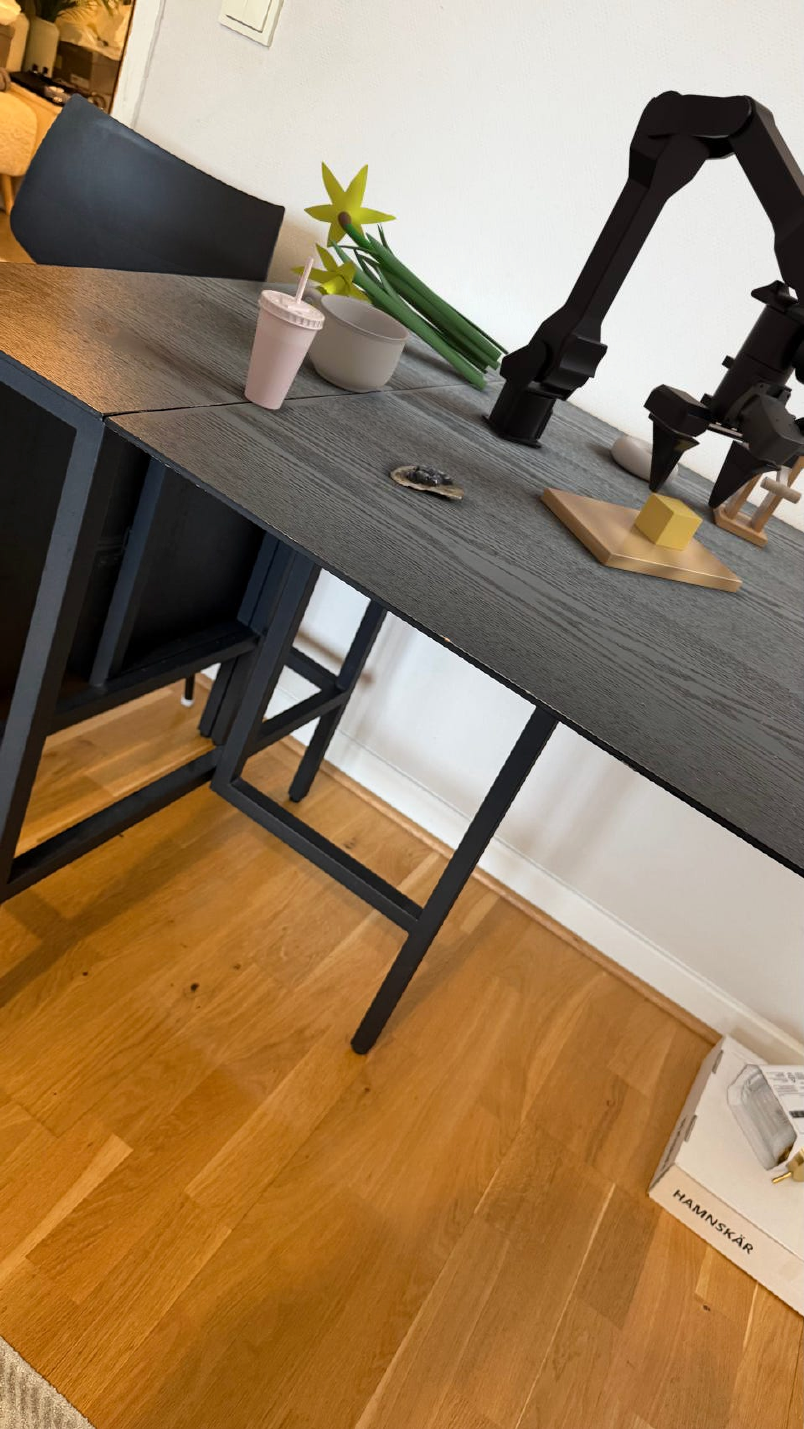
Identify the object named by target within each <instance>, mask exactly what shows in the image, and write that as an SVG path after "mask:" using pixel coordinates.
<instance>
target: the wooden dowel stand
mask: <svg viewBox="0 0 804 1429" xmlns="http://www.w3.org/2000/svg"><path fill="white" fill-rule="evenodd" d="M803 470H804V456H803V457H801V456H800V457H799V458H798V460H797V461H796V463H795V464H794V466H793V467H792V469H791V468H789V469H788V481H787V487H789V488H791V487H792V486H793V484H794V483H795V481H796V479H797V478H798V477H799V475H800V474H801V472H802V471H803ZM763 475H764V473H763V474H759V475H757V476H755V477H754V478H753V479H751V480H750V481H749V482H747V483H746V484H745V485H743V486H742V487H741V488H740V489H739V490H738V491H736V492H735V493H734V494H733V495H732V496H731V497H729V499H728V501H727V503H726V504H724V503H722V504H721V505H720V506H719V507H718V508H716V509H712V512H713V516H714V521H715V525H716V526H717V527H719V528H721V529H723V530H725V531H727V532H729V533H731V534H733V535H735V536H738V537H739V538H741V539H744V540H745V541H748V542H749V543H751V544H753V545H755V546H758V547H760V548H762V549H764V547H765V546H766V545H767V543H768V538H767V535H766V532H765V530H764V527H765V526H766V524H767V523H768V522H769V520H770V519H771V517H772V515H773V514H774V513H775V511H776V510H777V508H778V506H779V505H780V503H781V502H782V501H783V499H784V498H782V497H780V496H778V495H776V494H774V493H772V492H770V491H767V494H766V495H765V497H764V498H763V500H762V501H761V503H760V504H759V506H758V507H757V509H756V510H755V512H754V514H753V515H752V516H751V517H750V516H749V515H747V514H745V513H742V512H740V510H741V509H742V507H743V506H744V504H745V503H746V501H747V500H748V498H749V496H750V495H751V493H752V492H753V490H754V488H756V486H757V484H758V483H759V481H760V479H761V478H762V477H763Z"/></svg>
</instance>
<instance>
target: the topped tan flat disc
mask: <svg viewBox="0 0 804 1429" xmlns="http://www.w3.org/2000/svg"><path fill="white" fill-rule="evenodd" d="M390 477H391V478H392V479H393V480H394V481H395V482H396V483H398V484H400V485H402V486H404V487H408V486H410V487H411V488H413V489H415V490H416V489H417V490H419V491H425V490H427V491H430V492H435V493H437V494H440V495H444V496H446V497H447V498H448V499H449V498H450V499H451V500H455V501H461V500H462V499H463V498H464V494H465V493H466V490H465V488H464V487H461V486H462V485H460V484H459V482H456V481H454V479H453V476H450V475H449V474H446V473H444V472H443V471H442V470H440V469H436V467H435V466H433V465H428V466H426V465H424V464H418V465H405V466H404V465H401V466H397V467H396V469H394V470H393V471H390Z"/></svg>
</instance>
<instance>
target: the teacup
mask: <svg viewBox="0 0 804 1429" xmlns="http://www.w3.org/2000/svg"><path fill="white" fill-rule="evenodd" d="M307 298H311V299H312V300H313V301H314V302H315V306H316V309H317V310H319V311H320V312H321V313H322V314H323V315H324V317H325V319H324V322H323V325H322V329H320V330H317V332H316V334H315V336H314V338H313V341H312V343H311V345H310V347H309V349H308V351H307V354H308V356H309V359H310V360H311V363H312V364H313V365H314V369H315V371H316V372H317V373H318V374H319V376H320V377H322V378H323V379H325V380H326V381H328V382H329V383H331V384H332V385H334V386H337V387H339V388H341V389H344V390H346V391H350V392H354V393H361V394H363V393H368V392H370V391H372V390H375V389H379V388H381V387H383V386H384V385H386V384H387V383H388V382H389V380H390V379H391V378H392V375H393V374H394V372H395V370H396V367H397V365H398V363H399V361H400V358H401V356H402V354H403V350H404V348H405V346H406V343H407V342H408V340H409V339H410V333H409V331H408V329H407V328H406V327H405V326H403V325H402V324H401V323H399V322H398V321H397V320H395V319H394V318H392V317H391V316H389V315H388V314H386V313H384V312H382V311H381V310H379V309H376V308H374V307H372V306H373V305H372V306H370V305H371V304H369V303H365V302H364V301H362V300H359V299H356V298H353V297H350V296H349V297H345V296H340V295H331V294H329V295H323V296H322V295H321V293H320V292H319V291H317V290H316V289H315V288H313V287H305V288H304V291H303V294H302V297H301V300H302V301H304V302H305V299H307Z"/></svg>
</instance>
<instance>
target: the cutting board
mask: <svg viewBox="0 0 804 1429" xmlns="http://www.w3.org/2000/svg"><path fill="white" fill-rule="evenodd" d="M540 500H541V501H542V502H543V503H544V504H545V505H546V507H548V508H549V509H550V511H551V512H552V513H553V514H554V515H555V516H556V517H557V518H558V519H559V520H560V522H562V523H563V524H564V526H566V528H567V529H569V530H570V532H571V533H572V534H573V535H574V536H575V537H576V538H577V539H578V540H579V541H580V542H581V543H582V544H583V545H584V546H585V548H586V549H588V551H589V552H590V553H591V554H592V555H593V556H594V557H595V558H596V559H597V560H598V562H600V563H601V565H602V566H603V567H604V566H605V567H608V568H615V569H619V570H624V571H628V572H634V573H638V574H643V575H647V576H651V577H656V578H657V577H658V578H661V579H667V580H671V581H677V582H680V583H686V584H691V585H696V586H700V587H705V588H710V589H713V590H714V589H715V590H718V591H719V590H720V591H725V592H730V593H734V594H736V593H737V592H738V590H739V589H740V587H741V585H742V584H743V581H742V579H740V578H739V577H738V576H737V575H736V574H735V573H734V572H732V571H731V570H730V569H729V568H728V567H727V566H726V565H725V564H724V563H722V562H721V561H720V560H719V559H718V558H717V556H715V555H713V554H712V553H711V552H710V551H709V550H708V549H707V548H705V546H703V544H702V543H700V542H699V541H698V540H697V539H696V538H695V537H694V536H692V538H691V540H690V541H689V543H688V544H687V546H686V548H685V549H684V551H681V550H677V549H673V548H668V547H664V546H660V545H655V544H654V543H653V542H652V541H651V540H650V539H649V538H648V537H647V536H646V535H645V534H644V533H642V532H641V531H640V530H639V529H638V528H637V527H636V526H635V525H634V522H635V520H636V518H637V517H638V515H639V513H640V512H641V510H638V509H634V508H631V507H626V506H623V505H619V504H615V503H610V502H607V501H603V500H599V499H595V498H592V497H586V496H583V495H579V494H575V493H571V492H569V491H564V490H560V489H555V488H551V487H548V486H546V487H545V488H544V490H543V492H542V494H541V496H540Z"/></svg>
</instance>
